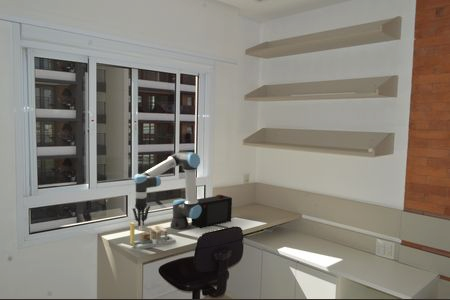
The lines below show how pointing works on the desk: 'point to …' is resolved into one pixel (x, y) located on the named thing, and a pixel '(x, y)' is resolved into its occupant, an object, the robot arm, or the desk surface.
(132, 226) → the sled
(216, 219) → the speaker
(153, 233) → the tunnel
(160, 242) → the deck
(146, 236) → the block
